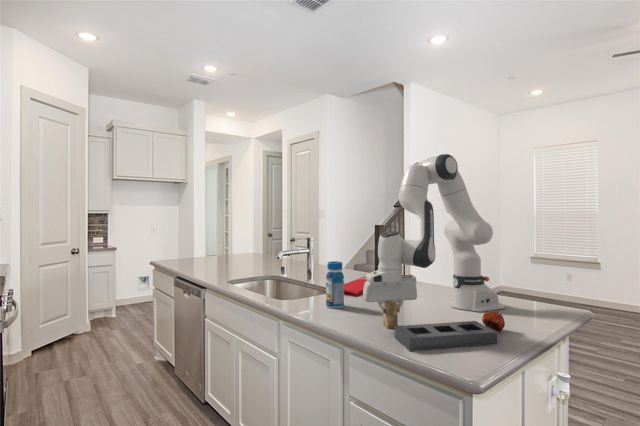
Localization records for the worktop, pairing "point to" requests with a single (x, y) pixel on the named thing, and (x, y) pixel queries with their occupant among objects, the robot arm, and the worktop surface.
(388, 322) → the oak peg
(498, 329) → the pomegranate
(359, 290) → the dish drying mat
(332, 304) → the beverage bottle
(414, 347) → the gray socket block
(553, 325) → the worktop surface
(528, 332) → the worktop surface
